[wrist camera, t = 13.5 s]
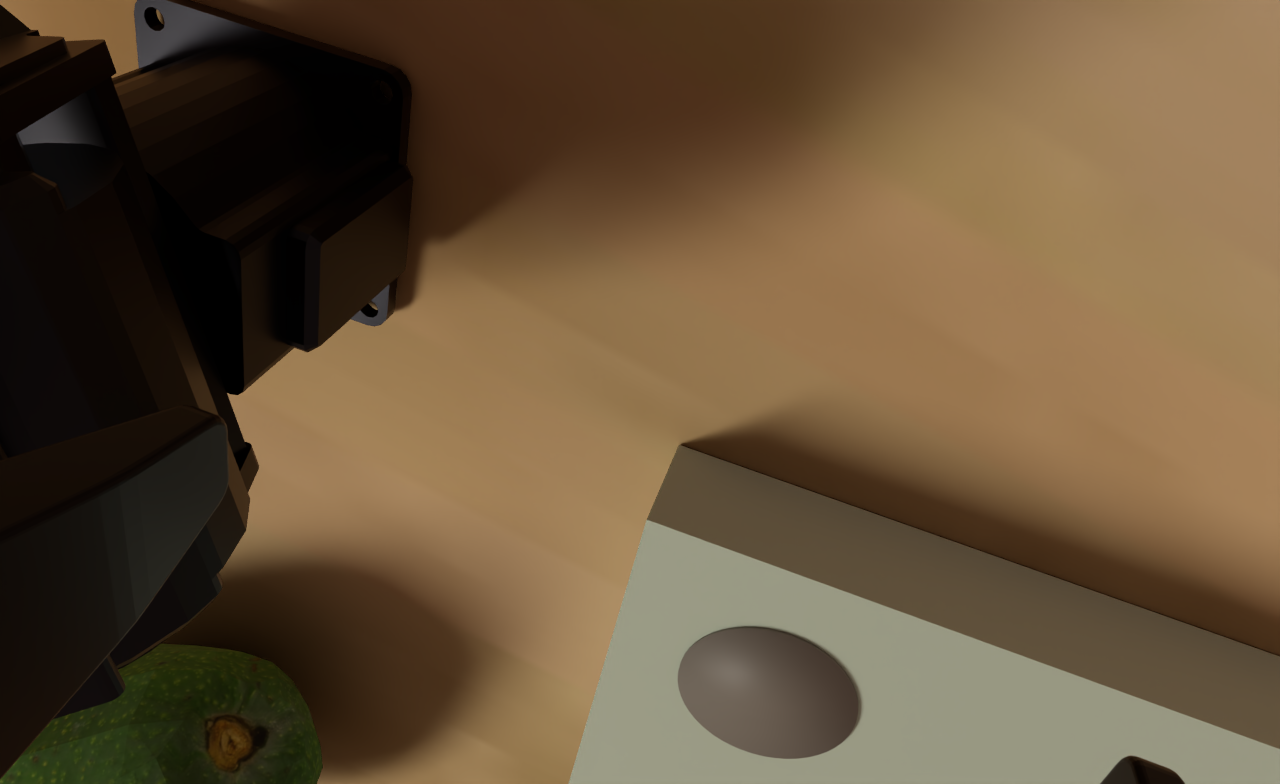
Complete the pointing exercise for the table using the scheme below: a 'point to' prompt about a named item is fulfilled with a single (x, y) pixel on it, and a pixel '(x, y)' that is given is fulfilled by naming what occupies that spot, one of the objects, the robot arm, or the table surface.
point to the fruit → (183, 727)
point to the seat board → (895, 658)
